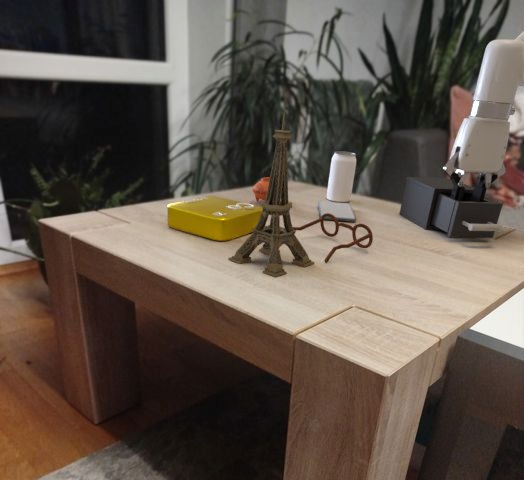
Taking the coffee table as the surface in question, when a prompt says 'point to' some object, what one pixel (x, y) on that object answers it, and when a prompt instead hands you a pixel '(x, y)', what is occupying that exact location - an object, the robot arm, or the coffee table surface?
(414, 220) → the cabinet
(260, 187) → the orange cupcake
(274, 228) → the eiffel tower
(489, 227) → the drawer
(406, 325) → the coffee table surface
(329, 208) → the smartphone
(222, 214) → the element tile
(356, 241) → the glasses
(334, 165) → the can
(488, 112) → the robot arm
